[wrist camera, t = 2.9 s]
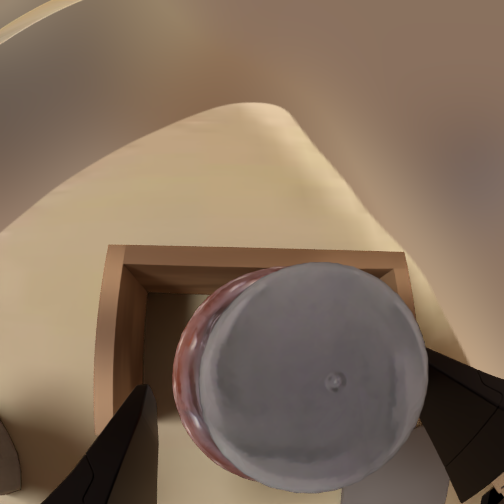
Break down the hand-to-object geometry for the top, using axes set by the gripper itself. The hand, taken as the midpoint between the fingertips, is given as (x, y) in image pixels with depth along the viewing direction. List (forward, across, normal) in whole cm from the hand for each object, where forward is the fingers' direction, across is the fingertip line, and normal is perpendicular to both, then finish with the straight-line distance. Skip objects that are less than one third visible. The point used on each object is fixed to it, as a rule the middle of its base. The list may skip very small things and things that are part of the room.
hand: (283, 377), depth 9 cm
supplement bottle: (+6, 0, +6) cm, 8 cm away
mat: (-3, -9, +14) cm, 17 cm away
